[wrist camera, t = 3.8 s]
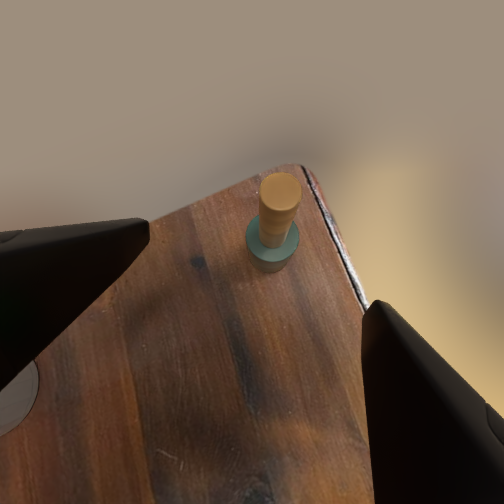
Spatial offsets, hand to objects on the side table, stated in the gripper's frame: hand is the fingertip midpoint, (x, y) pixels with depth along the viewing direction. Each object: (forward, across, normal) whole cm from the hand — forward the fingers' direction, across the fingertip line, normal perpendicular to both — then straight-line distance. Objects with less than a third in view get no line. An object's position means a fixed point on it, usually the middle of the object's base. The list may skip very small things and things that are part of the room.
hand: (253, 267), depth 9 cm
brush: (+10, 0, +5) cm, 11 cm away
